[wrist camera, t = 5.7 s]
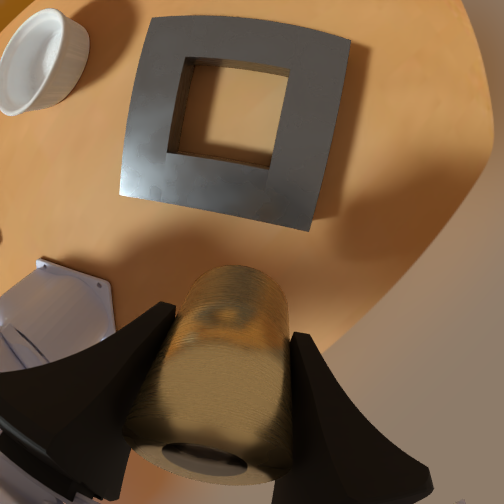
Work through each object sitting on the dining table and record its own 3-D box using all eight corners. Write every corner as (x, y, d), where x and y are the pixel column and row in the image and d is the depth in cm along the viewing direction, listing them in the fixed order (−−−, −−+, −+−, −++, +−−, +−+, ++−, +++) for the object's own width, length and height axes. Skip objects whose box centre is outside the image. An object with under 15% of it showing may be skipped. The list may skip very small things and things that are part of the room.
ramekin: (116, 37, 13) (83, 22, 9) (57, 132, 16) (20, 136, 12) (64, 10, 11) (35, -1, 7) (16, 90, 14) (-15, 91, 10)
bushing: (184, 335, 13) (133, 463, 6) (192, 254, 11) (106, 394, 4) (273, 355, 13) (267, 492, 6) (300, 278, 11) (321, 441, 4)
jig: (133, 188, 18) (119, 195, 16) (163, 27, 13) (151, 17, 11) (305, 222, 18) (308, 232, 16) (343, 49, 13) (351, 40, 11)
